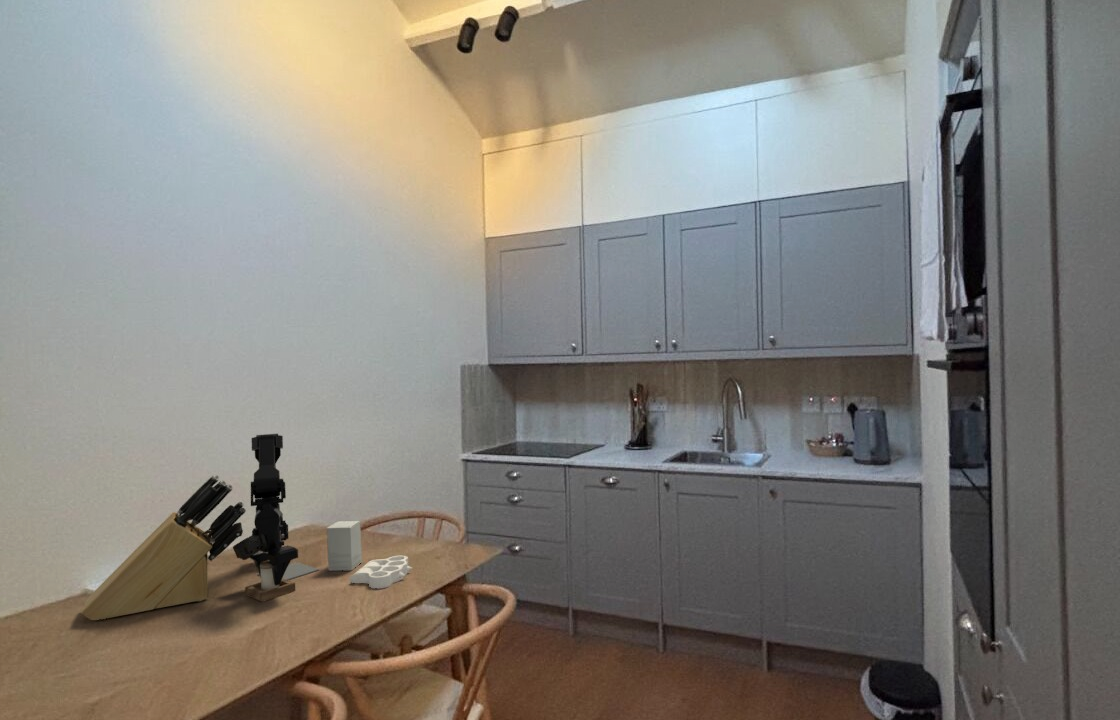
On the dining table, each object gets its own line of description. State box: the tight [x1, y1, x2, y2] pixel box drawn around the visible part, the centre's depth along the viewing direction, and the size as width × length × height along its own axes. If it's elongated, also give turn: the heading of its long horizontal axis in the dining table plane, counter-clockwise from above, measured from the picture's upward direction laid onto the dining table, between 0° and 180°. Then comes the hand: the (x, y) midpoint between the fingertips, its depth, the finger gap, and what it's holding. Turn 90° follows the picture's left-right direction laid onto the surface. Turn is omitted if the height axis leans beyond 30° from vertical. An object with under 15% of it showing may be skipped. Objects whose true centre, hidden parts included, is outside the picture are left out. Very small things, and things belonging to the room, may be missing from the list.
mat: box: [256, 561, 320, 581], centre depth 176 cm, size 12×12×1 cm
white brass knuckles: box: [349, 555, 413, 589], centre depth 170 cm, size 3×18×15 cm
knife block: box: [80, 474, 247, 621], centre depth 157 cm, size 11×35×31 cm, turn 120°
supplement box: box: [326, 520, 363, 572], centre depth 180 cm, size 7×7×13 cm
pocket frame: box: [244, 579, 296, 602], centre depth 161 cm, size 9×9×2 cm
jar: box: [260, 560, 280, 591], centre depth 161 cm, size 5×5×8 cm
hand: (270, 582), depth 161 cm, fingers open, 7 cm apart
